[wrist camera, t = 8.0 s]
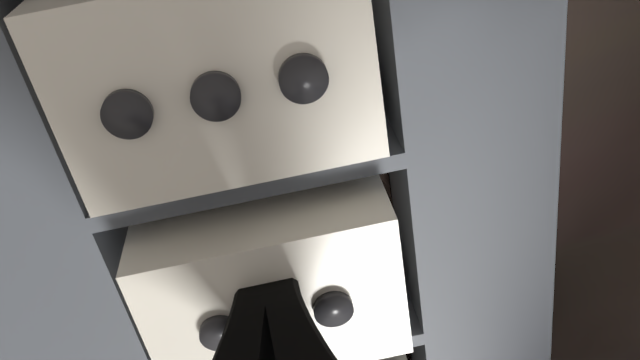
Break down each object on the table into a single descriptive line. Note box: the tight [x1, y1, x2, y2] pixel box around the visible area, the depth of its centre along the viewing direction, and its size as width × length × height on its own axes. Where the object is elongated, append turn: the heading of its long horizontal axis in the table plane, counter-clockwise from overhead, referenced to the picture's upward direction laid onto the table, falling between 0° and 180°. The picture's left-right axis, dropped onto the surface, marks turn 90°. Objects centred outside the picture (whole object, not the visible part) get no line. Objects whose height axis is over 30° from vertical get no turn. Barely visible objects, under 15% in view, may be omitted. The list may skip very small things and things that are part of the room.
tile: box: [116, 175, 413, 360], centre depth 15 cm, size 4×6×4 cm, turn 99°
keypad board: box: [0, 0, 568, 360], centre depth 16 cm, size 19×14×2 cm
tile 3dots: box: [3, 0, 390, 218], centre depth 12 cm, size 4×6×4 cm, turn 99°
